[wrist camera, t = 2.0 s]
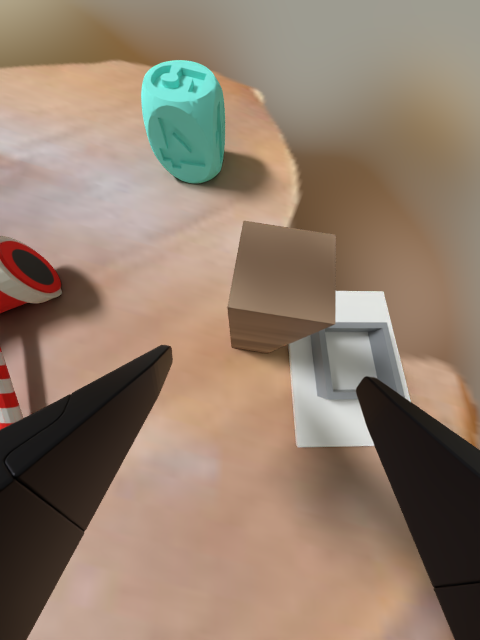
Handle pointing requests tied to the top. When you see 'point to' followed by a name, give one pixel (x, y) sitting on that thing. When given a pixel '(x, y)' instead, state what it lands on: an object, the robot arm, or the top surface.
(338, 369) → the plate
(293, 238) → the brown wooden block
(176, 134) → the decorative dice
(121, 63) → the top surface
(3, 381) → the toy hammer
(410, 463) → the robot arm
